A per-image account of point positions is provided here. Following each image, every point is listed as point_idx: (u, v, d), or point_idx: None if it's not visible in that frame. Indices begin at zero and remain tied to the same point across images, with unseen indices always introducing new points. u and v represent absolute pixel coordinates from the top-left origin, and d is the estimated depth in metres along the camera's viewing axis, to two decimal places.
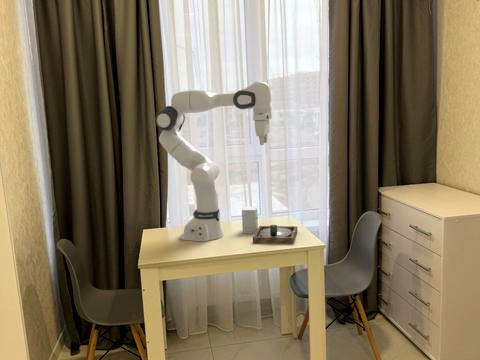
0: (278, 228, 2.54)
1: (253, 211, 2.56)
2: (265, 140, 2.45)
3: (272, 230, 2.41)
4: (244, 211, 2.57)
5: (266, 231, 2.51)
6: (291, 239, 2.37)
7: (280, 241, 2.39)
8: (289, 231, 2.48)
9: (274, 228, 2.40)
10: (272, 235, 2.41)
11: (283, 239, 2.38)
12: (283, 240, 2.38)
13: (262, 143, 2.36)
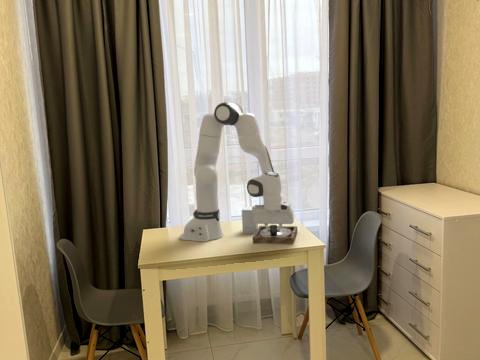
0: None
1: None
2: None
3: (272, 230, 2.41)
4: (244, 211, 2.57)
5: (266, 231, 2.51)
6: (291, 239, 2.37)
7: (280, 241, 2.39)
8: (289, 231, 2.48)
9: (274, 228, 2.40)
10: (272, 235, 2.41)
11: (283, 239, 2.38)
12: (283, 240, 2.38)
13: None
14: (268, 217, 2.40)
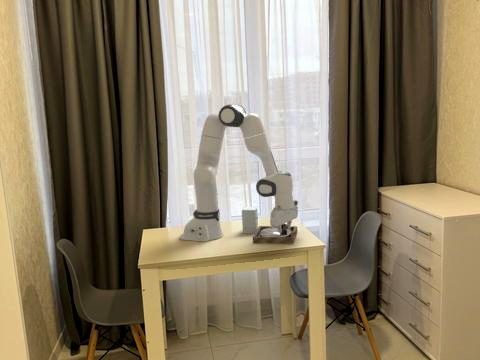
0: (269, 229, 2.54)
1: (253, 211, 2.56)
2: None
3: (285, 229, 2.42)
4: (244, 211, 2.57)
5: (266, 233, 2.47)
6: (291, 239, 2.37)
7: (280, 241, 2.39)
8: None
9: (286, 226, 2.42)
10: (285, 234, 2.42)
11: (283, 239, 2.38)
12: (283, 240, 2.38)
13: None
14: (285, 216, 2.41)
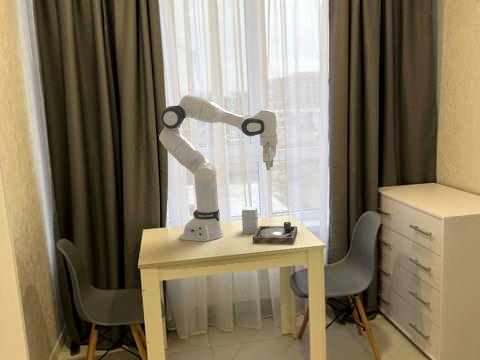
0: (264, 230, 2.51)
1: (253, 211, 2.56)
2: None
3: (290, 226, 2.45)
4: (244, 211, 2.57)
5: (270, 234, 2.45)
6: (291, 239, 2.37)
7: (280, 241, 2.39)
8: (277, 227, 2.55)
9: None
10: (290, 231, 2.46)
11: (283, 239, 2.38)
12: (283, 240, 2.38)
13: None
14: (272, 153, 2.48)
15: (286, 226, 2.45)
